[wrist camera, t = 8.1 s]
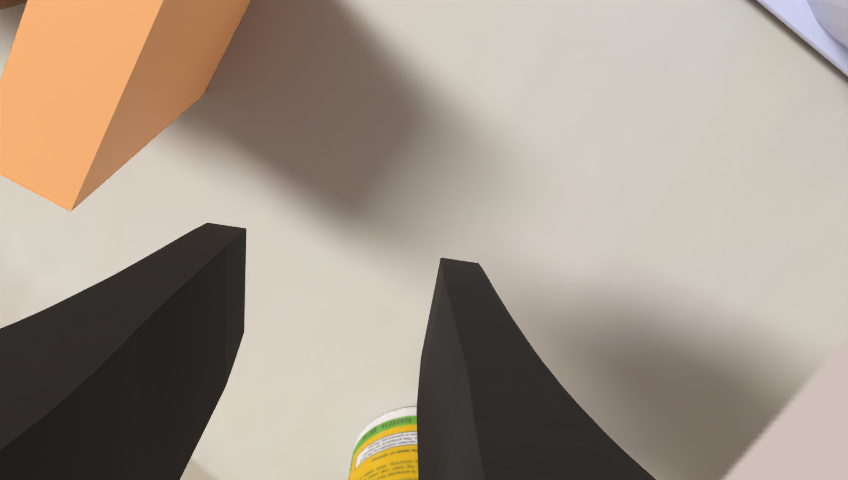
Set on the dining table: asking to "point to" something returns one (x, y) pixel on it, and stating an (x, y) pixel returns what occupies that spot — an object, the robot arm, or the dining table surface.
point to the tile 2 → (10, 3)
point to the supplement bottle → (387, 448)
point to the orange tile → (102, 85)
